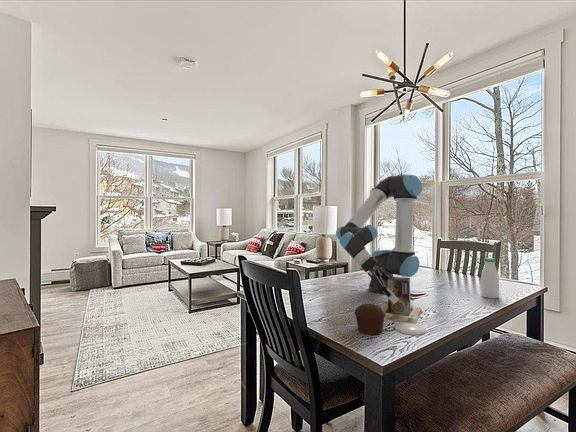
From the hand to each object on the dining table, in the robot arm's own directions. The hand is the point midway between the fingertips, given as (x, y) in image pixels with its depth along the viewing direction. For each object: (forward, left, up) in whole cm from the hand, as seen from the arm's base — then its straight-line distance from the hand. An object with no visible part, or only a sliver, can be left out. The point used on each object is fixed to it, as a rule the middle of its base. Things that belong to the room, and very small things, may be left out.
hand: (400, 298), depth 136 cm
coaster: (+6, -14, -8) cm, 18 cm away
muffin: (-7, -23, -8) cm, 26 cm away
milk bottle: (+34, +52, -8) cm, 63 cm away
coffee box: (-1, +1, -8) cm, 8 cm away
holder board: (-1, +1, -8) cm, 8 cm away
